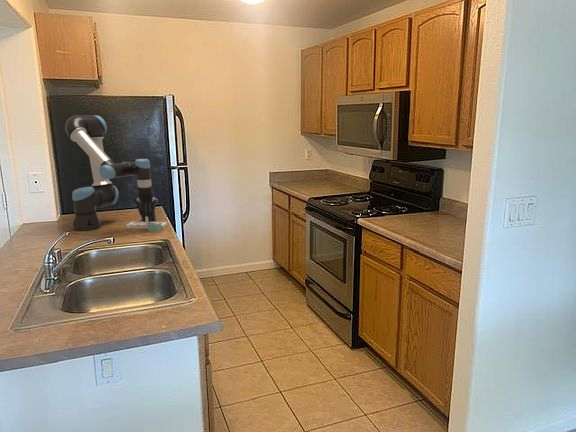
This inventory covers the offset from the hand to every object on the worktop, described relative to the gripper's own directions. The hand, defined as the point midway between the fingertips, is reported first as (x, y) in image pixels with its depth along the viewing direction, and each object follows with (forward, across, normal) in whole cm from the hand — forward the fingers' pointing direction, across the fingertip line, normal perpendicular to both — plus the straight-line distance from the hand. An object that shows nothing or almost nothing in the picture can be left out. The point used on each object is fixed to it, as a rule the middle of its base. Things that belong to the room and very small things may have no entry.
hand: (148, 227), depth 247 cm
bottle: (+2, -9, +22) cm, 24 cm away
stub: (+2, +4, 0) cm, 4 cm away
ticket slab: (+2, -4, +7) cm, 8 cm away
